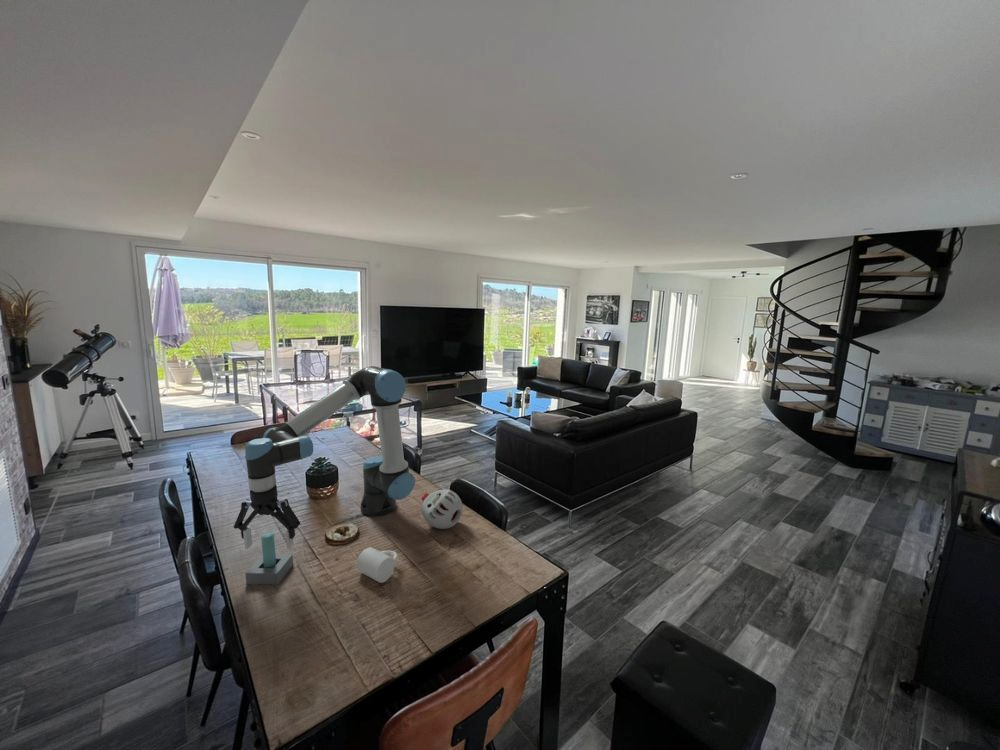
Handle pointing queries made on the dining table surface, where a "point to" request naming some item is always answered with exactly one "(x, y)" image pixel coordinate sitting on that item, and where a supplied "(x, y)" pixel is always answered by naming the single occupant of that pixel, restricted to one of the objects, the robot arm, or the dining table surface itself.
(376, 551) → the mug
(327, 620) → the dining table surface
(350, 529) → the round brown cream disc
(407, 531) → the dining table surface
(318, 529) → the dining table surface
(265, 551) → the peg
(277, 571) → the socket
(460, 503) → the decorative object
